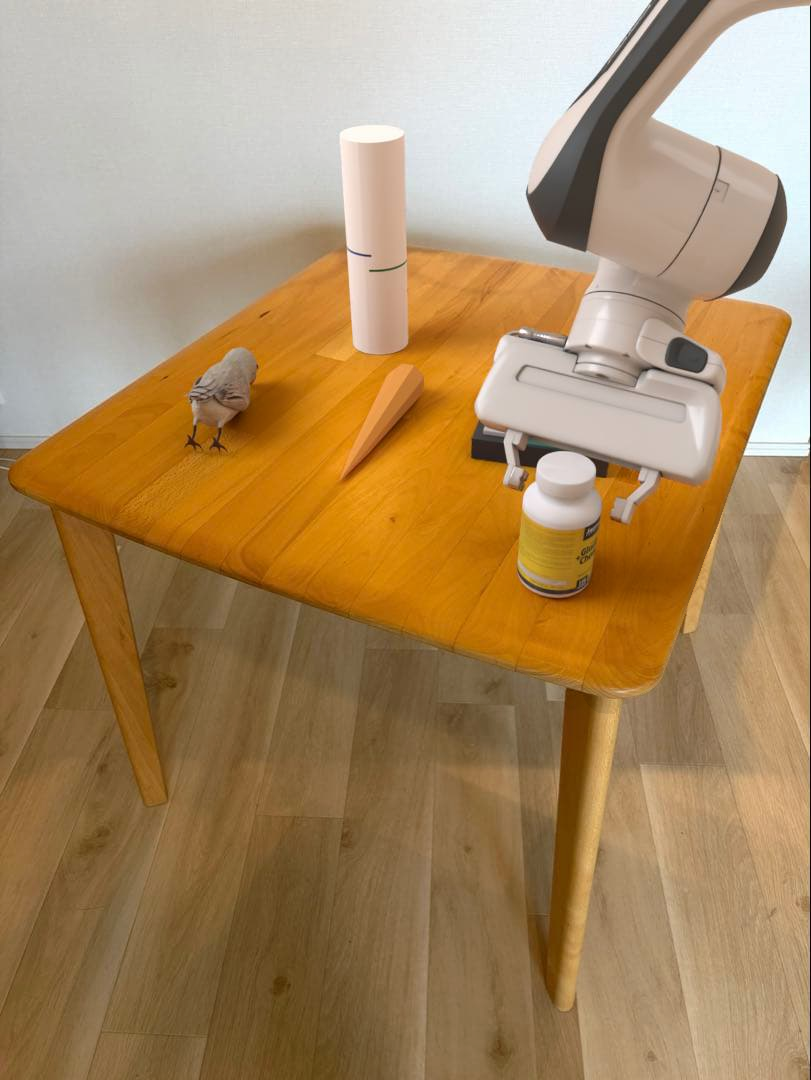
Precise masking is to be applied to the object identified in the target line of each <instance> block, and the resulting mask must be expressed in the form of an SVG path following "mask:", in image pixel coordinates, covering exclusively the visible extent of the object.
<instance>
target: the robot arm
mask: <svg viewBox="0 0 811 1080" xmlns="http://www.w3.org/2000/svg"><path fill="white" fill-rule="evenodd" d="M809 6H810V7H811V0H651V1H650V2H649V3H648V5H647V6H646V7H645V9H644V10H643V12H642V13H641V14H640V16H639V17H638V18H637V20H636V21H635V22H634V24H633V25H632V26H631V28H630V29H629V31H628V32H627V34H626V35H625V36H624V37H623V39H622V40H621V42H620V43H618V46H617V47H616V49H615V50H614V51H613V52H612V53H611V55H610V57H609V58H608V60H607V61H606V62H605V63H604V65H603V66H602V67H601V69H600V70H599V71H598V73H597V74H596V75H595V77H594V78H592V80H591V81H590V82H589V83H588V85H587V86H586V87H585V88H584V89H583V90H582V91H581V92H580V94H579V95H578V96H577V97H576V99H574V100H573V102H572V103H571V104H570V105H569V107H567V109H566V111H565V112H564V113H563V114H562V115H561V116H560V117H559V119H558V120H557V121H556V122H555V123H554V124H553V125H552V127H551V128H550V130H548V132H547V134H546V135H545V137H544V138H543V140H542V142H541V143H540V145H539V147H538V149H537V152H536V154H535V157H534V159H533V161H532V164H531V167H530V171H529V175H528V182H527V186H526V190H525V197H526V201H527V204H528V207H529V209H530V211H531V214H532V217H533V219H534V220H535V223H536V225H537V226H538V228H539V231H540V232H541V234H542V235H543V237H544V238H545V240H546V241H548V242H551V243H554V244H558V245H560V246H564V247H567V248H570V249H573V250H576V251H579V252H583V253H586V252H589V253H592V254H594V255H596V256H598V265H597V270H596V272H595V275H594V278H593V280H592V282H591V283H590V285H589V286H588V287H587V289H586V290H585V292H584V293H583V296H582V298H581V300H580V303H579V307H578V309H577V311H576V315H575V317H574V320H573V322H572V324H571V325H572V326H571V328H570V331H569V334H568V335H565V334H560V333H556V332H550V331H542V330H538V329H536V328H533V327H530V326H521V327H519V329H514V330H511V331H508V332H507V333H505V334H504V335H502V336H501V338H500V339H499V341H498V343H497V347H496V349H495V352H494V355H493V360H492V361H493V362H492V363H493V364H492V365H491V368H490V370H489V372H488V373H487V374H486V377H485V379H484V381H483V383H482V385H481V387H480V389H479V391H478V394H477V397H476V399H475V402H474V404H473V408H474V412H475V415H476V417H477V420H478V421H480V422H481V423H482V424H484V425H485V426H486V427H488V428H490V429H493V430H497V431H500V432H504V433H506V436H505V439H504V447H505V452H506V458H507V463H506V464H508V465H507V467H506V471H505V473H504V476H503V480H502V485H503V486H504V487H505V488H507V489H510V490H514V491H518V492H523V491H524V489H525V487H526V484H525V482H527V481H528V478H529V476H530V472H528V471H527V469H526V468H524V467H521V465H520V461H519V454H518V449H519V450H522V451H524V450H525V448H526V445H527V443H528V440H532V441H535V442H539V443H542V444H546V445H549V446H553V447H556V448H560V449H563V450H567V451H570V452H574V453H578V454H581V455H584V456H588V457H591V458H595V459H598V460H602V461H605V462H609V464H612V465H617V466H620V467H624V468H627V469H630V470H634V471H637V472H639V474H638V478H637V480H638V482H639V483H640V486H638V488H637V489H635V490H634V491H633V492H632V493H631V494H630V495H629V496H627V498H622V497H619V496H615V499H614V502H613V508H611V510H610V513H609V519H610V521H613V522H616V523H619V524H622V525H624V526H625V525H626V526H629V525H630V524H631V523H632V522H631V521H632V520H633V516H634V514H635V511H636V508H637V507H638V506H640V505H641V504H642V503H644V501H646V500H648V498H649V497H651V496H652V495H654V493H655V492H657V490H658V488H659V485H660V483H661V481H662V479H665V480H669V481H672V482H676V483H679V484H682V485H686V486H690V487H692V488H694V487H695V488H697V487H699V486H701V485H703V484H704V483H705V482H707V481H709V479H710V477H711V475H712V473H713V469H714V466H715V463H716V459H717V455H718V450H719V446H720V441H721V436H722V428H723V412H722V411H723V410H722V404H721V400H720V398H721V396H722V394H723V393H724V390H725V387H726V385H727V377H728V375H727V368H726V365H725V362H724V359H723V358H722V356H721V354H719V353H718V352H716V351H714V350H713V349H711V348H709V347H708V346H706V345H705V344H702V343H701V342H699V341H697V340H695V339H693V338H692V337H690V336H688V335H686V334H685V332H686V329H687V328H686V327H687V317H688V312H689V309H690V307H691V305H692V304H693V303H694V302H696V301H703V302H705V303H707V302H712V301H715V300H718V299H719V300H720V299H723V298H724V297H728V296H730V295H734V294H736V293H738V292H741V291H744V290H746V289H749V288H750V287H752V286H754V285H756V284H757V283H758V282H759V281H760V280H762V278H763V277H764V276H765V274H766V273H767V271H768V269H769V267H770V266H771V264H772V262H773V260H774V257H775V255H776V254H777V250H778V248H779V246H780V243H781V241H782V238H783V235H784V233H785V230H786V227H787V223H788V204H787V203H788V202H787V195H786V191H785V188H784V185H783V182H782V180H781V178H780V176H779V174H777V173H774V172H773V171H772V170H770V169H768V168H767V167H766V166H764V165H762V164H760V163H758V162H757V161H753V160H751V159H749V158H747V157H745V156H743V155H740V154H738V153H736V152H733V151H731V150H728V149H727V148H724V147H722V146H719V145H718V144H717V145H714V144H712V143H711V142H708V141H705V140H703V139H702V138H701V139H700V138H698V137H697V136H694V135H692V134H689V133H687V132H686V131H685V132H684V131H683V130H680V129H678V128H676V127H674V126H671V125H669V124H666V123H665V122H662V121H660V120H658V119H656V118H655V117H653V115H655V113H656V112H657V111H658V109H659V108H660V107H661V106H662V105H663V103H664V102H665V101H666V100H667V99H668V97H669V96H671V94H672V93H673V91H675V89H676V88H677V87H678V86H679V84H680V83H681V82H682V81H683V80H684V79H685V77H686V76H687V75H688V74H689V72H691V70H692V69H693V68H694V66H695V65H696V64H697V63H698V62H699V60H700V59H701V58H702V57H703V56H704V55H705V53H706V52H707V51H708V50H709V48H711V46H712V45H713V44H714V42H715V41H717V39H718V38H719V37H720V36H721V35H722V34H723V33H725V32H726V31H727V30H728V29H731V27H733V26H735V25H736V24H737V23H739V22H741V21H745V20H746V19H748V18H751V17H753V16H756V15H759V14H762V13H766V12H770V11H774V10H780V9H789V8H798V7H809ZM517 335H518V336H517Z"/></svg>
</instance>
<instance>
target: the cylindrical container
mask: <svg viewBox="0 0 811 1080" xmlns="http://www.w3.org/2000/svg"><path fill="white" fill-rule="evenodd" d="M339 148H340V163H341V181H342V182H341V183H342V193H343V194H342V195H343V208H344V209H343V211H344V225H345V226H344V227H345V239H346V240H345V241H346V254H347V255H346V256H347V257H346V258H347V272H348V273H347V274H348V285H349V287H348V288H349V300H350V301H349V302H350V315H351V316H350V317H351V331H352V333H351V334H352V345H353V347H354V348H355V349H356V350H357V351H359V352H361V353H364V354H368V355H375V356H381V355H382V356H383V355H390V354H394V353H397V352H400V351H402V350H404V349H405V348H406V347H407V346H408V345H409V307H408V306H409V304H408V301H409V300H408V256H407V255H408V251H407V247H408V246H407V205H406V203H407V202H406V200H407V199H406V160H405V159H406V153H405V151H406V149H405V131H404V129H402V128H399V127H396V126H392V125H387V124H365V125H357V126H352V127H348V128H346V129H343V130H342V131H341V132H340V133H339Z"/></svg>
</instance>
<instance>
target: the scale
mask: <svg viewBox="0 0 811 1080" xmlns="http://www.w3.org/2000/svg"><path fill="white" fill-rule="evenodd" d="M505 436H506V433H504V432H500V431H497V430H493V429H490V428H488V427H486V426H485V425H484V424H482V423H481V422H480V421H479V420H478V421H477V424H476V426H475V429H474V432H473V434H472V436H471V442H470V444H471V445H470V448H471V449H470V459H474V460H482V461H489V462H497V463H502V464H508V463H507V458H506V452H505V447H504V439H505ZM558 451H567V450H563V449H560V448H556V447H553V446H549V445H546V444H542V443H539V442H535V441H532V440H528V443H527V445H526V448H525V450H524V451H522V450H519V449H518V454H519V461H520V466H524V467H532V468H535V469H537V464H538V462H539V460H540V459H541V458H542V457H543V456H545V455H547V454H549V453H553V452H558ZM568 452H570V451H568ZM583 456H584V455H583ZM585 457H587V458H589V459H590V460H591V461H592V462H593V463H594V465H595V467H596V477H599V478H607V475H608V470H609V465H610V463H609V462H605V461H602V460H598V459H595V458H591V457H588V456H585Z"/></svg>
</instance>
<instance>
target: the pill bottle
mask: <svg viewBox="0 0 811 1080" xmlns="http://www.w3.org/2000/svg"><path fill="white" fill-rule="evenodd" d="M535 469H536V471H535V481H533V482H532V483H531V484H530V485H529V486H527V488H526V490H525V491H524V493H523V496H522V505H521V516H520V526H519V527H520V528H519V539H518V552H517V562H516V563H517V564H516V572H517V576H518V578H519V581H520V582H521V583H522V584H523V586H525V587H526V588H527V589H528V590H529V591H531V592H532V593H535V594H537V595H539V596H542V597H546V598H551V599H552V598H553V599H555V598H556V599H563V598H568V597H572V596H574V595H577V594H579V593H580V592H582V591H583V590H584V589H585V588H586V587H587V586H588V585H589V583H590V581H591V578H592V573H593V566H594V561H595V559H594V558H595V553H596V547H597V541H598V534H599V529H600V523H601V516H602V510H603V500H602V497H601V495H600V493H599V491H598V489H596V488H595V483H596V477H597V476H596V467H595V465H594V463H593V462H592V461H591V460H590V459H589V458H587V457H585V456H583V455H581V454H578V453H574V452H568V451H558V452H553V453H549V454H547V455H545V456H543V457H542V458H541V459H540V460H539V462H538V464H537V468H535Z"/></svg>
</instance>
